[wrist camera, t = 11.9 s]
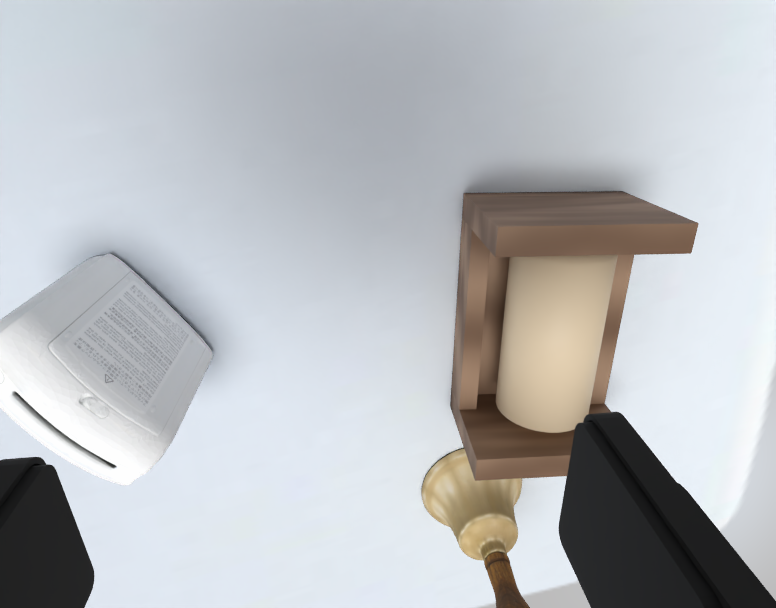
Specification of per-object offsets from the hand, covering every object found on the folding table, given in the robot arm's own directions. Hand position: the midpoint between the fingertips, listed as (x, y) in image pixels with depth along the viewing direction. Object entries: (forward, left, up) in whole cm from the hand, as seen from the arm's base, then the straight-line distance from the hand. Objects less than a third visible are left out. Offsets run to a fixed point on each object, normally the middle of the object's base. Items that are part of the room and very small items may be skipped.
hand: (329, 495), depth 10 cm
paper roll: (+8, +13, -24) cm, 29 cm away
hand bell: (+24, +10, -26) cm, 36 cm away
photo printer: (+8, -13, -26) cm, 30 cm away
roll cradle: (+8, +13, -25) cm, 30 cm away
